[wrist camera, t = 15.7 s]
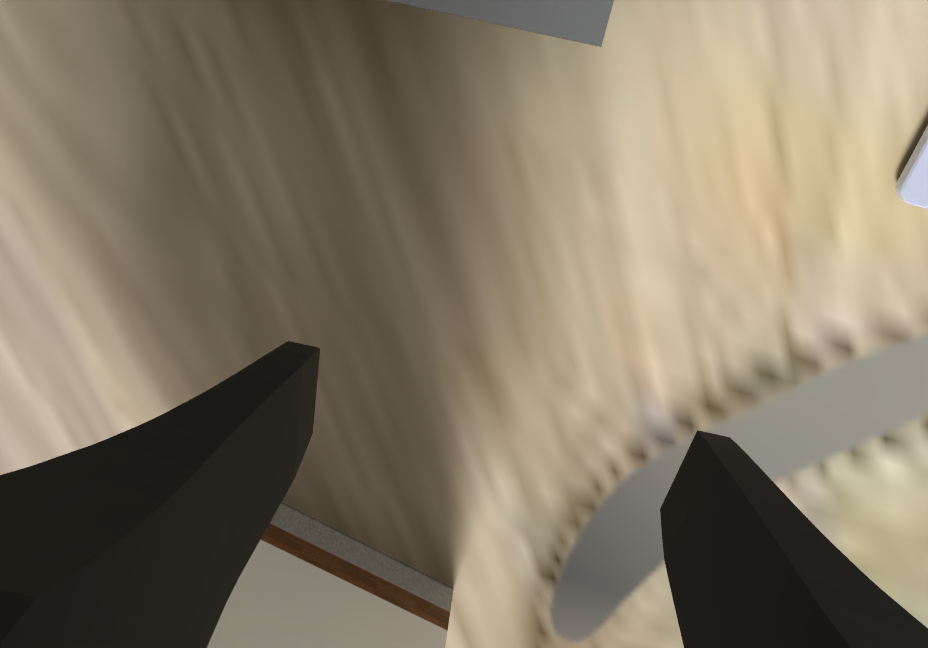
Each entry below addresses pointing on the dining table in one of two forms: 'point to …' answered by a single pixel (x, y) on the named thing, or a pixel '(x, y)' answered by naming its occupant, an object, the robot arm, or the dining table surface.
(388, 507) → the dining table surface
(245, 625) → the white tower
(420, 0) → the base board
